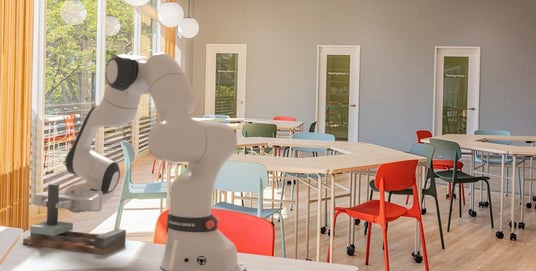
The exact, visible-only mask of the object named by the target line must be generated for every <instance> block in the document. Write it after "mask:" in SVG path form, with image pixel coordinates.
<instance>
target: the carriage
mask: <svg viewBox="0 0 536 271" xmlns="http://www.w3.org/2000/svg"><path fill="white" fill-rule="evenodd" d="M47 192H48V205H47V207H46V208H47V209H46V210H47V211H46V221H43V222H40V223H39V222H38V223H36V224H32V225H30V227H29V228H30V230H29V234H31V233H36V234H43V235H51V236H55V235H58V234H61V233H64V232H67V231H72V230H73V228H74V227H73V226H74V223H73V222H65V221H60V220H59V209H58V208H56V207H55V206H56V202H58V201H59V192H60V184H59V183H48V186H47Z"/></svg>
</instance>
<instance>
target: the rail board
mask: <svg viewBox="0 0 536 271" xmlns="http://www.w3.org/2000/svg"><path fill="white" fill-rule="evenodd" d="M126 231H127V230H126V229H120V228H116V229H113V230H111V231H108V232H105V233H102V234H97V233H87V232H78V231H72V230H70V231H67V232H64V233H61V234H58V235H55V236H51V235H43V234H36V233H30V236H27V237H24V238H23V241H22V243H30V244H35V245H34V246H36V245H39V246H38V247H45V248H53V249H60V250H67V251H68V250H69V251H75V252H80V253H81V252H83V253H89V254H96V255H105V254H108V253H110V252H112V251H115V250H117V249H119V248H121V247H124V246H125V245H126V235H127V234H126Z"/></svg>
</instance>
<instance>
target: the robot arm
mask: <svg viewBox="0 0 536 271" xmlns="http://www.w3.org/2000/svg"><path fill="white" fill-rule="evenodd" d="M105 79H106V82H107V84H106V87H105V90H104V93H103V96H102V97H103V98H102V100H101V102H100V103H99V104H98V105H94V106H92V107H91V109H89V111H88V113H87V115H86V117H85V118H84V120H83V123H82V125H81V127H80V130H79V132H78V134H77V136H76V138H75V141H74V142H73V145H72V146H71V148H70V149H69V151H68V153H67V154H66V156H65V159H64V162H65V163H64V164H65V167H66V171H67V172H68V173H69V174H71V175H74V176H77V177H80V178H81V179H83V180H86V182H85V183H79V184H73V185H70V186H69V187H67V188H66V189H65V191H64V192H60V191H59V201H58V202H56V206H55V207H56V208H58V210H59V209H65V210H68V211H70V212H71V213H75V214H79V213H85V212H94V213H95V212H101V211H102V210H103V206H105V205H106V204H107V203H109V202H110V201H111V200H112V199H113V197H114V193H115V189H116V187H117V185H118V183H119V181H120V178H121V171H120V169H121V168H120V166H119V164H118V162H116V161H114V160H112V159H110V158H109V157H107V156H104V155H102V154H100V153H98V152H96V151H95V150H93V148H92V147H91V146H92V143H93V141H94V139H95V137H96V134H97V132H98V130H99V128H100V127H101V128H102V127H103V128H121V127H125V126H127V125H129V124H130V123H131V122H133V120H134V119H135V116H136V114H137V111H138V107H139V104H140V101H141V96H142V94H143V95H150V97H151V99H152V100H153V104H154V105H155V108H156V112H157V115H158V118H157V122H155V123H154V124H153V126H152V127H151V129H150V130H149V132H148V135H147V145H148V150H149V152H150V154H151V155H152V156H153V158H154V159H156V160H158V161H159V160H161V161H165V162H169V163H188V164H187V165H186V168H185V170H184V171H183V173H182V174H181V175H180V176H178V177H176V178H175V179H174V180H173V182H172V183H171V186H170V192H169V208H168V209H169V210H168V211H169V212H167V216H166V217H167V218H166V243H165V247H164V252H163V256H162V259H161V262H160V265H159V266H160V268H161V269H162V270H164V271H244V269H245V270H246V263H244V262H243V261H239V258H238V250H237V247H236V245H235V244H234V243H233V242H232V241H231V240H230V239H229V238H228V237H227V236H225V234H223V233H222V232H221V231H220V230H218V224H219V222H220V217H217V218H216V217H215V216H214V215H213V214H212V205H213V194H214V187H215V184H216V181H217V180H216V179H217V178H218V175H219V172H220V170H221V169H222V167H223V166H224V164H225V162H227V160H229V159H230V157H232V156H233V154H234V153H235V151H236V149H237V144H238V140H237V139H238V138H237V134H236V132H235V130H234V129H233V127H232V126H230V125H228V124H226V123H223V122H219V121H216V120H215V121H213V120H212V121H210V120H197V119H193V118H192V117H191V115H193V112H194V111H195V110H196V106H197V96H196V95H195V93H194V91H193V88H192V86H191V83H190V82H189V80H188V77H187V76H186V74H185V72H184V70H183V68H182V67H181V66H180V64H179V63H178V62H177V60H176V59H175V58H174V57H173V56H172V55H170V54H169V53H167V52H156V53H153V54H152V55H150V56H143V55H129V54H116V55H114V56H112V57H111V58H110V59H109V60H108V62H107V63H106V67H105ZM33 205H34V206H38V207H39V206H40V207H43V208H47V205H48V191H45V192H36V193H35V194H34V195H33Z"/></svg>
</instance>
